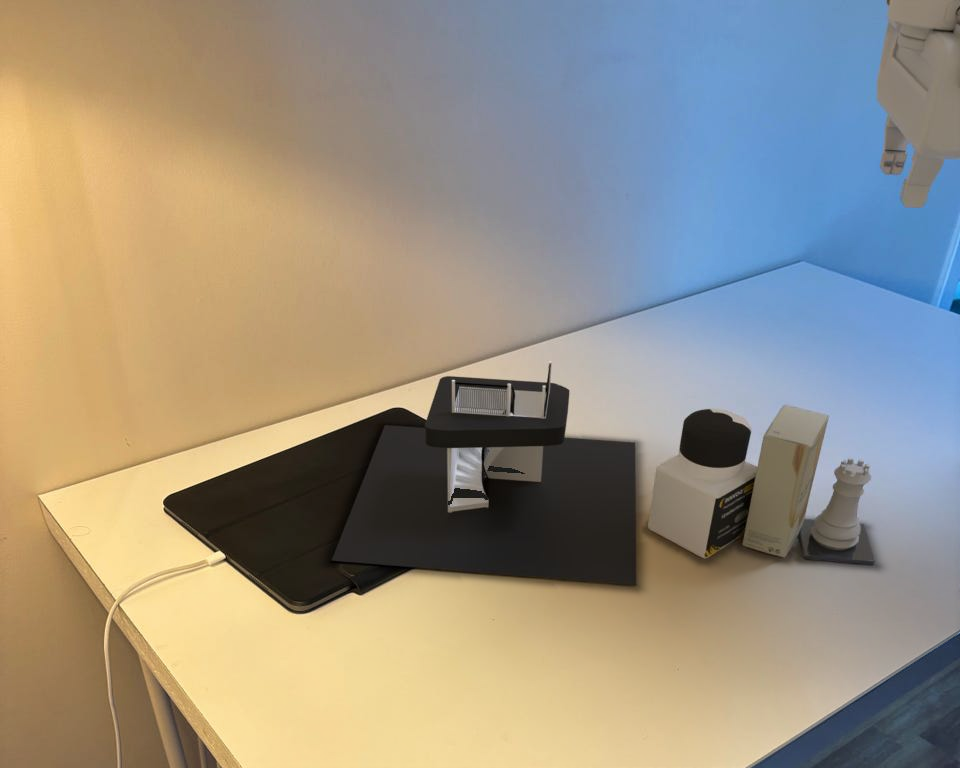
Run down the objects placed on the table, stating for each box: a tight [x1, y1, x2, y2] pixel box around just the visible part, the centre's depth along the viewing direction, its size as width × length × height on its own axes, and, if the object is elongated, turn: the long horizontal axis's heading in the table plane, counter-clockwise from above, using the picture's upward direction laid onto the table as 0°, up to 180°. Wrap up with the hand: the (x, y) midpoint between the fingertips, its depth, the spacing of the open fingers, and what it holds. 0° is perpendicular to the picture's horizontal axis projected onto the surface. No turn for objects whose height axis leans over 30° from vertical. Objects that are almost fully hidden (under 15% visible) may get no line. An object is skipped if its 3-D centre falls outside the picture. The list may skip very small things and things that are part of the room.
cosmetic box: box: [741, 404, 830, 558], centre depth 91 cm, size 6×4×12 cm
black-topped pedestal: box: [331, 361, 637, 586], centre depth 96 cm, size 28×26×13 cm
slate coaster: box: [798, 518, 876, 566], centre depth 94 cm, size 6×6×1 cm
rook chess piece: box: [811, 458, 872, 550], centre depth 92 cm, size 4×4×8 cm
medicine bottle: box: [647, 408, 758, 560], centre depth 92 cm, size 7×7×12 cm
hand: (899, 188), depth 84 cm, fingers open, 8 cm apart
